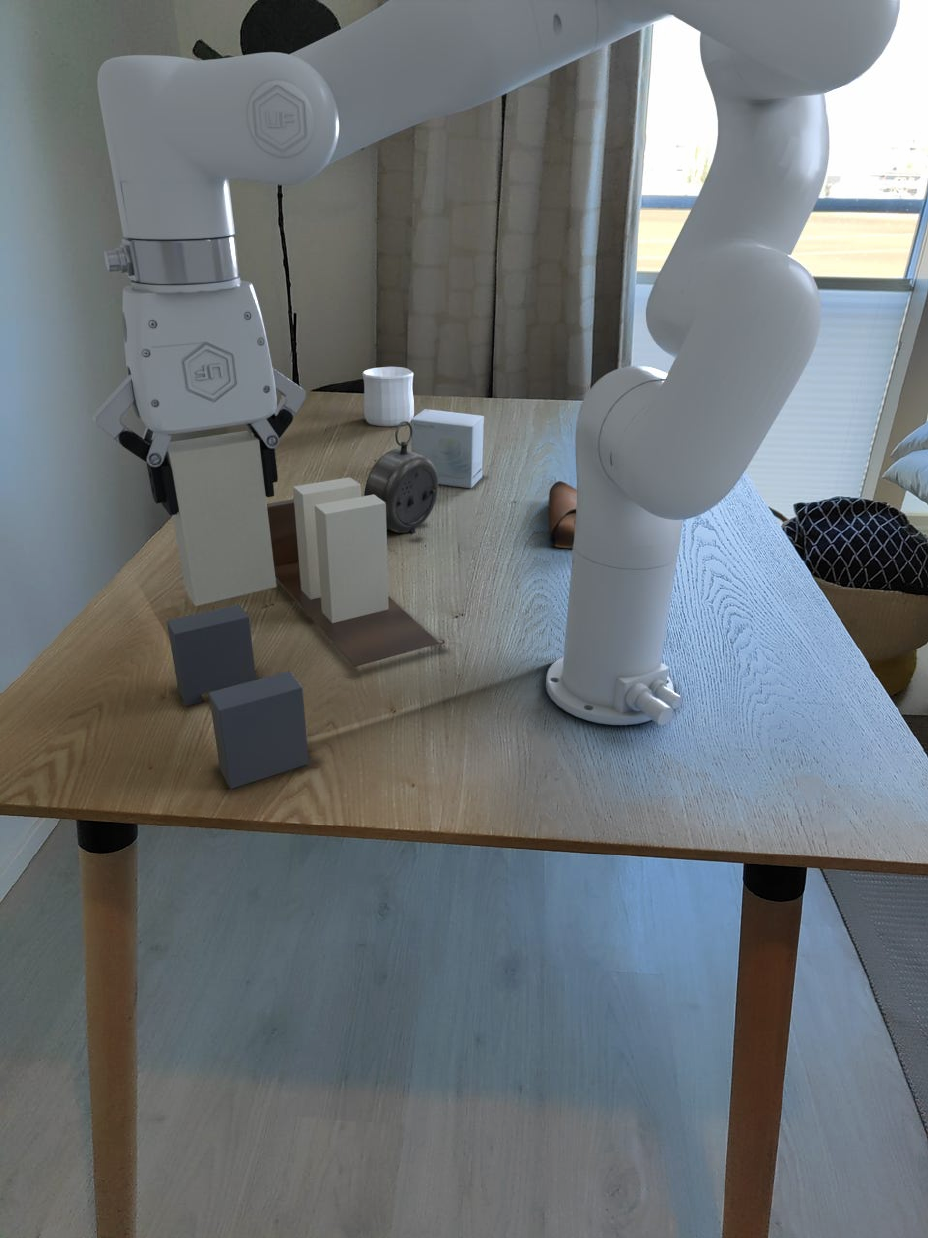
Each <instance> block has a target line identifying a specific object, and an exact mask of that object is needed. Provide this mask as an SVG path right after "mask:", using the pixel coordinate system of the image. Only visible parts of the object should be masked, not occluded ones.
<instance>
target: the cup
mask: <svg viewBox="0 0 928 1238" xmlns="http://www.w3.org/2000/svg"><path fill="white" fill-rule="evenodd" d="M414 374H415V373H414V372H413V371H412V370H411V369H409V368H407V367H403V366H402V367H401V366H383V367H373V368H368V369H366V370H364V371H363V372H362V378H363V387H364V388H363V389H364V391H363V414H364V419H365V421H366V422H367V423H368V424H369V425H370V426H371V425H372V426H376V427H398V425H399V424H400V423H401V422H402V421H408V422H409V423H410V424H411V419H412V418H413V417H415V402H414V401H415V400H414V399H415V398H414V392H413V381H414ZM404 425H407V424H406V423H404V424H402V425H401V426H404Z"/></svg>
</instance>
